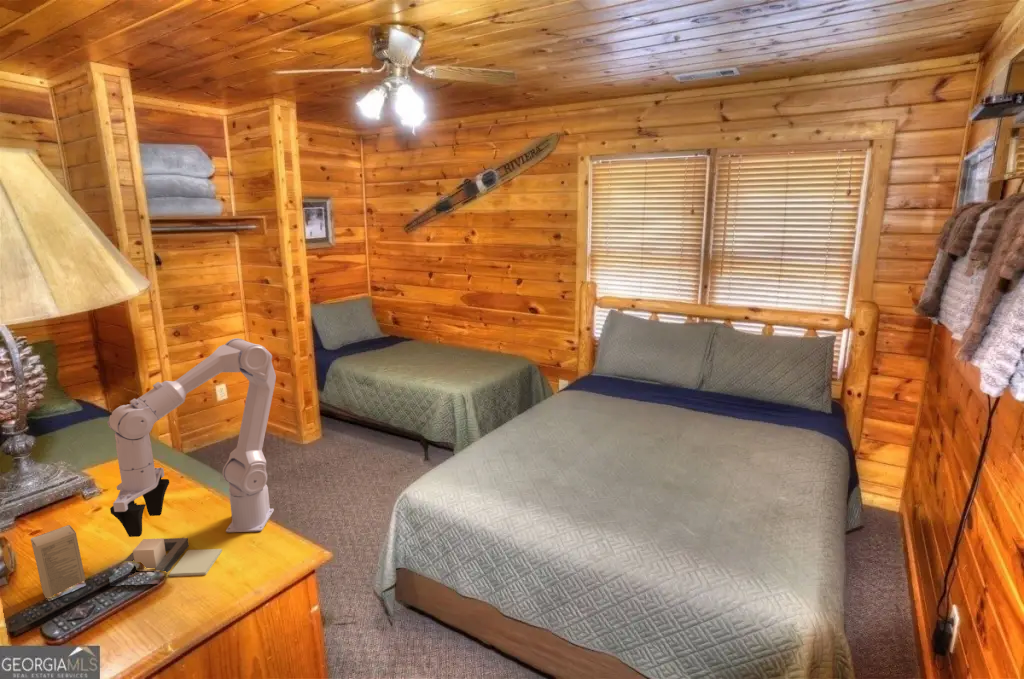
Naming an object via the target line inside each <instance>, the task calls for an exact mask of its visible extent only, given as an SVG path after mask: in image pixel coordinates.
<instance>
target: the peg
mask: <svg viewBox="0 0 1024 679" xmlns="http://www.w3.org/2000/svg"><path fill="white" fill-rule="evenodd" d="M164 539H165V538H160V537H159V538H143V539H142V541H140V542H139V543H138V544H137V545H136V546H135V548H134V549H132V552H133V555H134V561H135V562H141V563H142V564H143V565H144V566H145V567H146V568H156V567H157V566H158V565H159V563H160V562H161V561H162V560H163V559H164V557H165V556H166V555H167V553H166V552H167V551H165V544H164Z"/></svg>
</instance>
